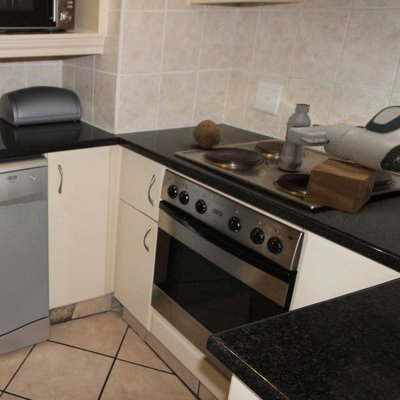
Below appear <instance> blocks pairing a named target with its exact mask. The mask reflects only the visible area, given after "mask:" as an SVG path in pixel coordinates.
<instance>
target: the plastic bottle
mask: <svg viewBox="0 0 400 400" xmlns="http://www.w3.org/2000/svg"><path fill="white" fill-rule="evenodd" d="M310 108H311V104H307V103H296V104H295V108H294V113H292V114H291V115H290V116H289V117H288V119H287V120H286V128H285V130H286V129H287V127H288V126H293V127H296V128H300V127H312V120H311V118H310V116H309V114H308V113H309V112H310ZM287 135H288V133H287V132H286V131H285V137H284V145H283V147H282V150H281V153H280V154H279V157H278V160H277V161H278V163H277V165H278V167H279V169H281V170H283V171H286V172H287V171H288V172H296V171H299V170H300V169H302V168H301V167H302V165H303V154H304V147H305V146H302V145H299V144H295V143H292V142H289V141H288V140H287Z"/></svg>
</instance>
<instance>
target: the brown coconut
mask: <svg viewBox="0 0 400 400" xmlns="http://www.w3.org/2000/svg"><path fill="white" fill-rule="evenodd" d="M192 135H193V138H194V141H195V142H196V143H197V145H198V146H199V147H200V148H202V149H205V150H207V149H210V148H212V147H214V146H217V145H219V144H220V143H221V142H222V134H221V131H220V128H219V126H218V124H217V123H216V122H215V121H213V120H212V119H204V120H202V121H200V122H199V123H198V124H197V125H196V126H195V128H194V130H193V133H192Z"/></svg>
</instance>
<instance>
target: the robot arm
mask: <svg viewBox="0 0 400 400" xmlns="http://www.w3.org/2000/svg"><path fill="white" fill-rule="evenodd" d="M286 132H287V133H288V135H287V140H288V141H289V142H292V143H295V144H299V145H302V146H304V147H309V148H313V147H323V150H324V152H325V153H326V154H327V155H329V156H332V157H335V158H338V159H341V160H343V161H350V162H352V163H356V164H358V165H360V166H363V167H366V168H370V169H373V170H378V172H393V173H400V105H390V106H386V107H384V108H382V109H381V110H379V111H378V112H377V113H375V114H374V116H373V117H371V119H370V120H369V121H368V122H367V123H366V124H365V125H364V126H363V125H352V124H348V123H343V122H341V123H337V124H326V125H325V124H324V125H323V124H319V123H315V124H311V126H310V127H300V128H296V127H293V126H288V127H287V129H286V128H285V133H286Z"/></svg>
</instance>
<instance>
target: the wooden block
mask: <svg viewBox="0 0 400 400" xmlns="http://www.w3.org/2000/svg"><path fill="white" fill-rule="evenodd" d="M378 172H379V171H378V170H373V169H370V168H366V167H363V166H360V165H358V164H356V163H354V162H352V161H347V160H342V159H341V160H340V159H335V158H332V157H328V158H327V159H325V160H323V161H322V162H320V163H319V164H317V165H315V166H314V167H313V168H311V170H310V175H309V178H308V183H307V186H306V191H305V194H304V199H303V201H306V202H310V203H314V204H317V205H320V206H323V207H324V206H325V207H328V208H332V209H335V210H339V211H343V212H346V213H351V214H356V213H357V212H358V211H359V210H360V209H361V208H362V207H363V206H364V205H365V204H366V203H367V202H368V201H370V199H371V195H372V192H373V189H374V186H375V183H376V179H377V176H378Z"/></svg>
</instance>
